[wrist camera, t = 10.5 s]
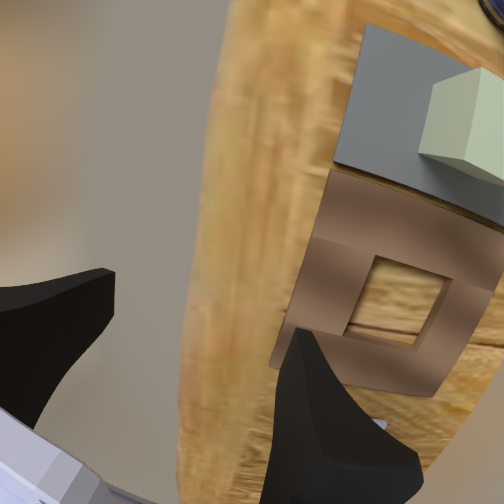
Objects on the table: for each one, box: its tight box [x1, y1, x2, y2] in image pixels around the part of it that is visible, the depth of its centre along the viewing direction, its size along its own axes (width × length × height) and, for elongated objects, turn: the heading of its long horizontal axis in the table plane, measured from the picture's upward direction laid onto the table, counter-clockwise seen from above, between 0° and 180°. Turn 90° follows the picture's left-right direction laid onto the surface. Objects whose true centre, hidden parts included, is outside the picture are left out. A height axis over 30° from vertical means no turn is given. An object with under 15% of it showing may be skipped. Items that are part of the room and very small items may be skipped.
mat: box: [333, 23, 504, 226], centre depth 16 cm, size 9×14×1 cm, turn 77°
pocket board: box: [269, 169, 504, 398], centre depth 20 cm, size 14×14×1 cm
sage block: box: [418, 67, 504, 187], centre depth 13 cm, size 4×4×6 cm
